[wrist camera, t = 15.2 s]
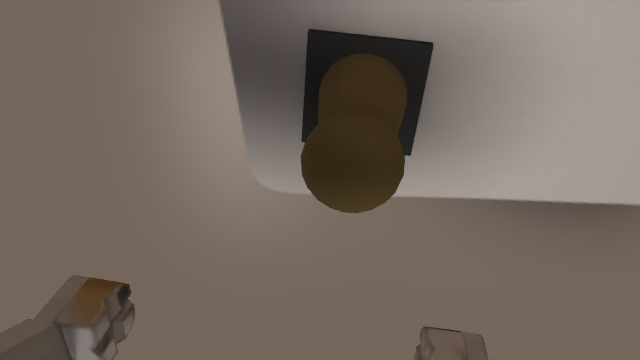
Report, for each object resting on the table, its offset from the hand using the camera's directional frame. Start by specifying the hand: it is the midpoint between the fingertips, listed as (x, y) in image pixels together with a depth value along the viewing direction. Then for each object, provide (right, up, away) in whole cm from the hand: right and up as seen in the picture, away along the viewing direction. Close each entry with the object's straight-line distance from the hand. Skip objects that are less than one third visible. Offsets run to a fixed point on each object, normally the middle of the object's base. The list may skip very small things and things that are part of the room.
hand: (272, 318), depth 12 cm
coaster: (+4, +10, +18) cm, 21 cm away
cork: (+4, +10, +18) cm, 21 cm away
